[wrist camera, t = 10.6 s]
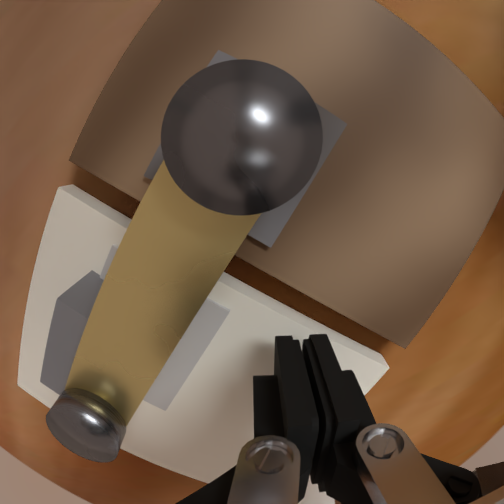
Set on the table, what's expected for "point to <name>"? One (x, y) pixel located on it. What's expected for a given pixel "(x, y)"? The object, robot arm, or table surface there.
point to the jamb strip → (329, 147)
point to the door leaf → (182, 358)
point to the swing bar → (185, 237)
